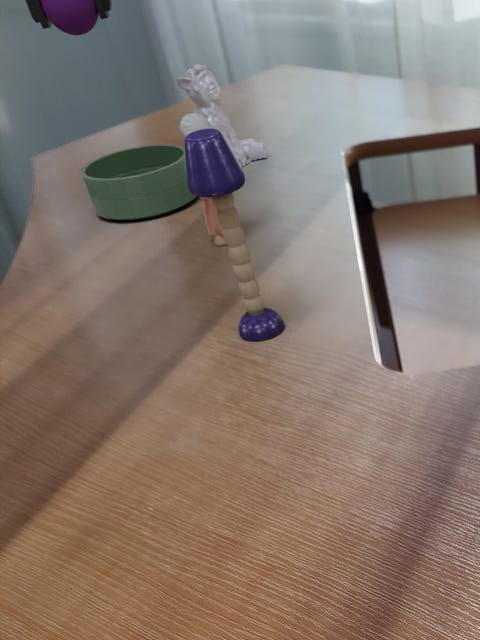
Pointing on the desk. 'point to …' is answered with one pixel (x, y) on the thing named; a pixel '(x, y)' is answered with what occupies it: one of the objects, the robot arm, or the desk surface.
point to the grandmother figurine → (210, 211)
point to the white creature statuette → (218, 113)
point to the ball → (71, 15)
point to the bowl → (138, 182)
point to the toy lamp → (229, 223)
